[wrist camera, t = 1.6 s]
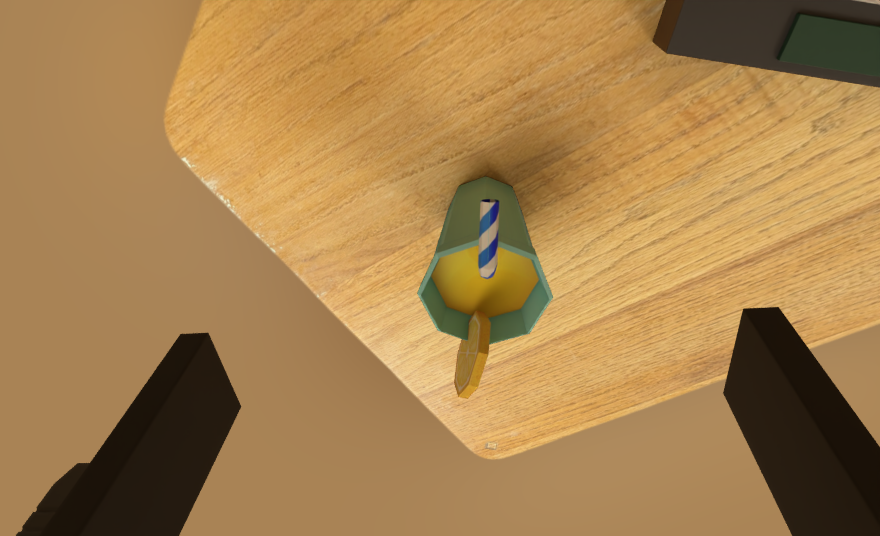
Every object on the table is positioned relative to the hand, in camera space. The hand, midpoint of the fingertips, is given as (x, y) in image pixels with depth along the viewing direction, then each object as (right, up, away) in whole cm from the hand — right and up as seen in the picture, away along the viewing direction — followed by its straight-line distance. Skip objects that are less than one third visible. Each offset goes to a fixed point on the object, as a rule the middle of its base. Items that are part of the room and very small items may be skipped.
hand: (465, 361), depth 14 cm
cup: (+3, +7, +26) cm, 27 cm away
